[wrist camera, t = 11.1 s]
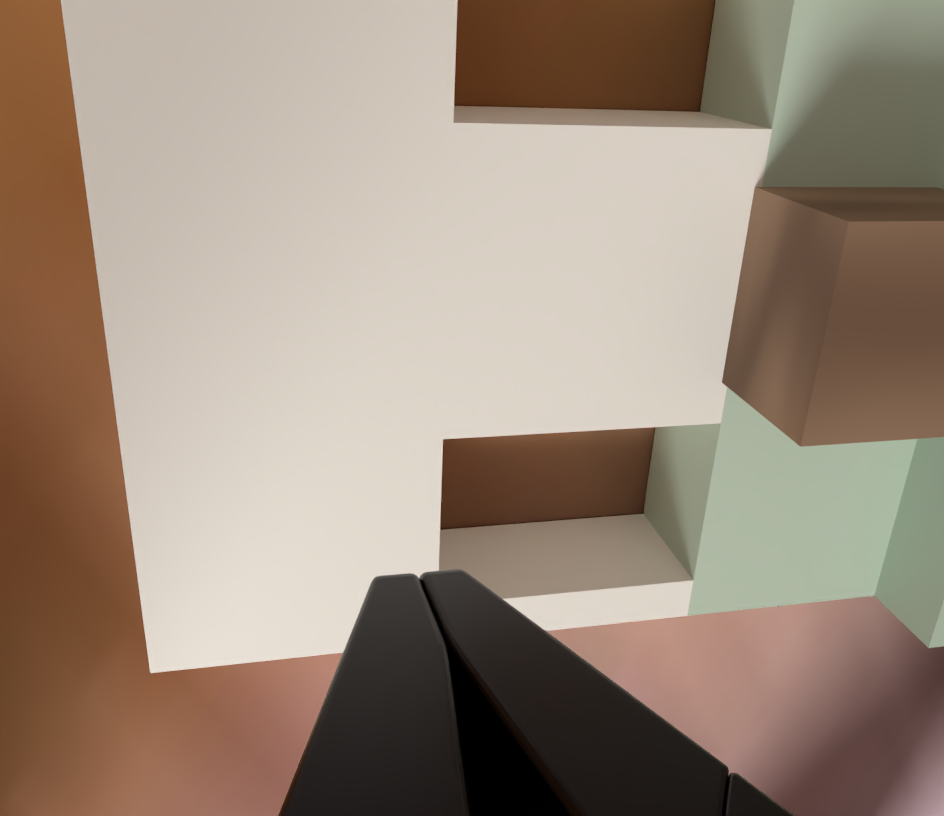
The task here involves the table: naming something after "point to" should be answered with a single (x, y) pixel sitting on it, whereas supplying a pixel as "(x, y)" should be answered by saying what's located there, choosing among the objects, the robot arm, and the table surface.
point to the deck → (473, 314)
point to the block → (842, 313)
